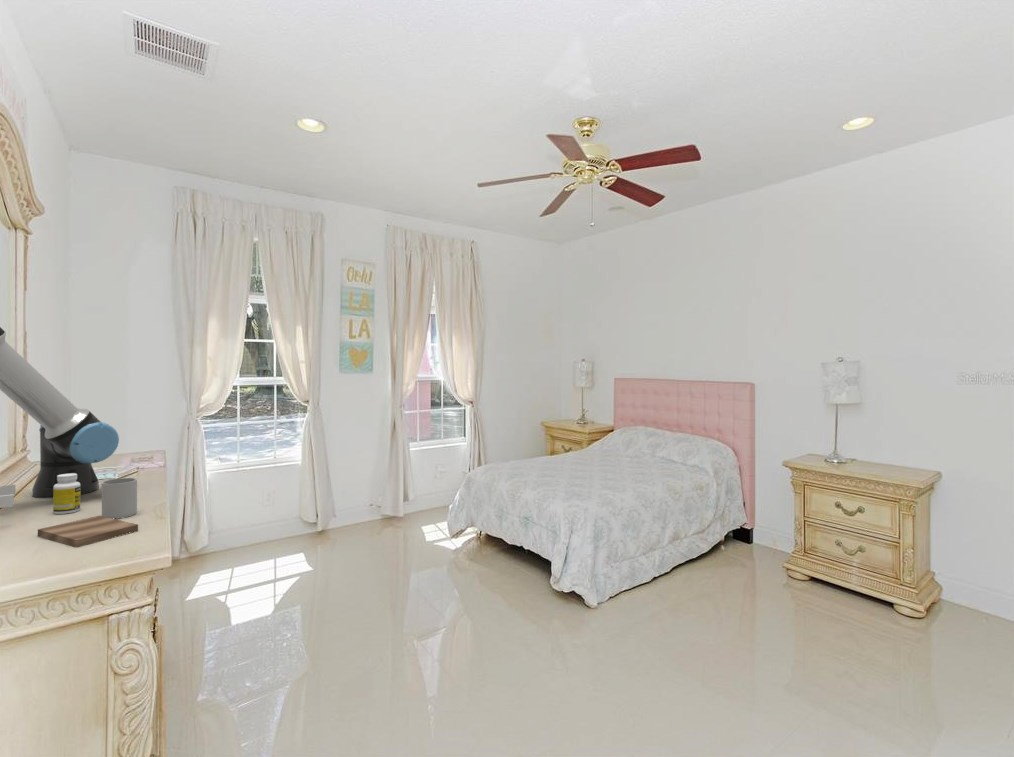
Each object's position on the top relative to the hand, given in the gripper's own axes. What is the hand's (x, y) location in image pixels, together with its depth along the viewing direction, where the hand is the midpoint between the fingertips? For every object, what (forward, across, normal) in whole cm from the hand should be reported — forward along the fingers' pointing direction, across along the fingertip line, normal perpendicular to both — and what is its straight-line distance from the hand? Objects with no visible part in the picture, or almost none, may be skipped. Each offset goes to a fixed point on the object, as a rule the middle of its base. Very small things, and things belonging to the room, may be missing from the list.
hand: (14, 494), depth 125 cm
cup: (+20, +11, -6) cm, 23 cm away
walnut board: (+13, +26, -6) cm, 29 cm away
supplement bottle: (+10, 0, -6) cm, 12 cm away
